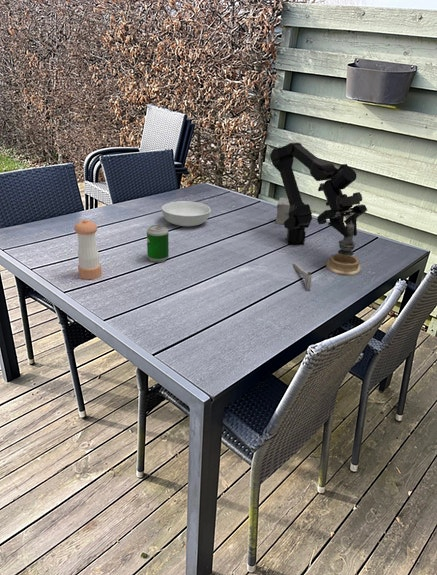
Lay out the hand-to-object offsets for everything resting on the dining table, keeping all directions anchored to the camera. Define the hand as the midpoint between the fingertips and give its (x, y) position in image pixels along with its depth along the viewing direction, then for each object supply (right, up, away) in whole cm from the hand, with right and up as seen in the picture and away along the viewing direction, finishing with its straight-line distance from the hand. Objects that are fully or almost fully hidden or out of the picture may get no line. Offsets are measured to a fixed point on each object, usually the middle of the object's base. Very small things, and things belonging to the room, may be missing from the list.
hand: (351, 236), depth 164 cm
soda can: (-68, -8, +8) cm, 68 cm away
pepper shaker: (-88, -14, -6) cm, 90 cm away
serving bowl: (-60, +10, +43) cm, 75 cm away
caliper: (-18, -14, -1) cm, 23 cm away
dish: (-1, -11, +7) cm, 13 cm away
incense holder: (-15, +11, +48) cm, 52 cm away
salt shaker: (-1, -6, +4) cm, 7 cm away
